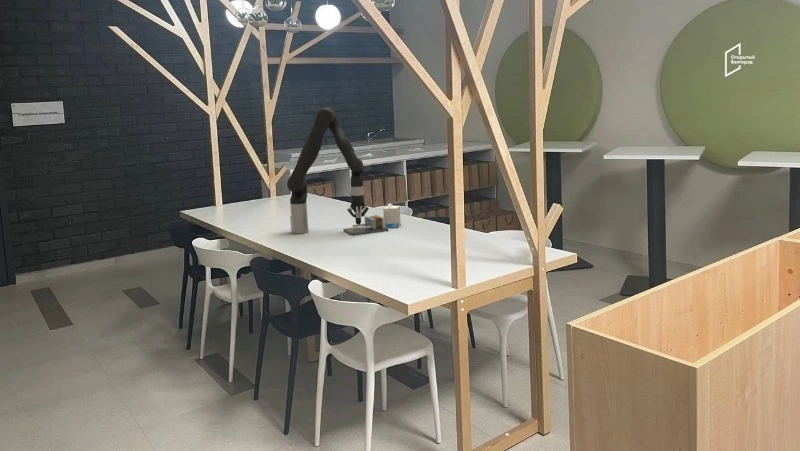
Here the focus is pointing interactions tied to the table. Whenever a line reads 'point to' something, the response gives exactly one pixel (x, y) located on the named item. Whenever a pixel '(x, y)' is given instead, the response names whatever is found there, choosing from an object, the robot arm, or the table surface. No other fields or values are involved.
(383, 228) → the vise base
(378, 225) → the block
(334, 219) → the table surface
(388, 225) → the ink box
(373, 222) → the sliding jaw
